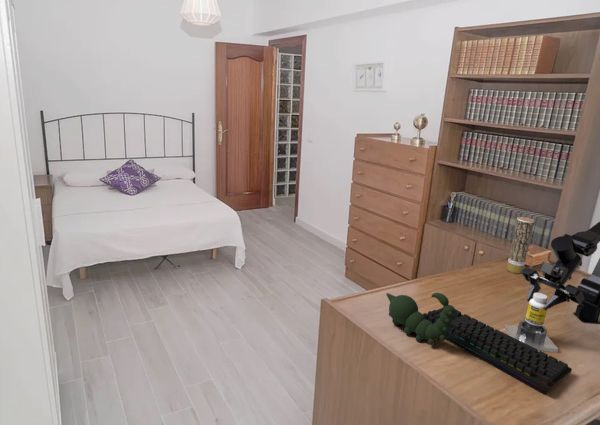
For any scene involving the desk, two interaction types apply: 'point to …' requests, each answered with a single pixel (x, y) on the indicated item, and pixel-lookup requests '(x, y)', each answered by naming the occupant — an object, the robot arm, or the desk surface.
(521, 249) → the bark textured cylinder
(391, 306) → the toy figurine
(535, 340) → the cup bracket
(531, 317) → the supplement bottle
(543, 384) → the keyboard
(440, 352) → the desk surface
